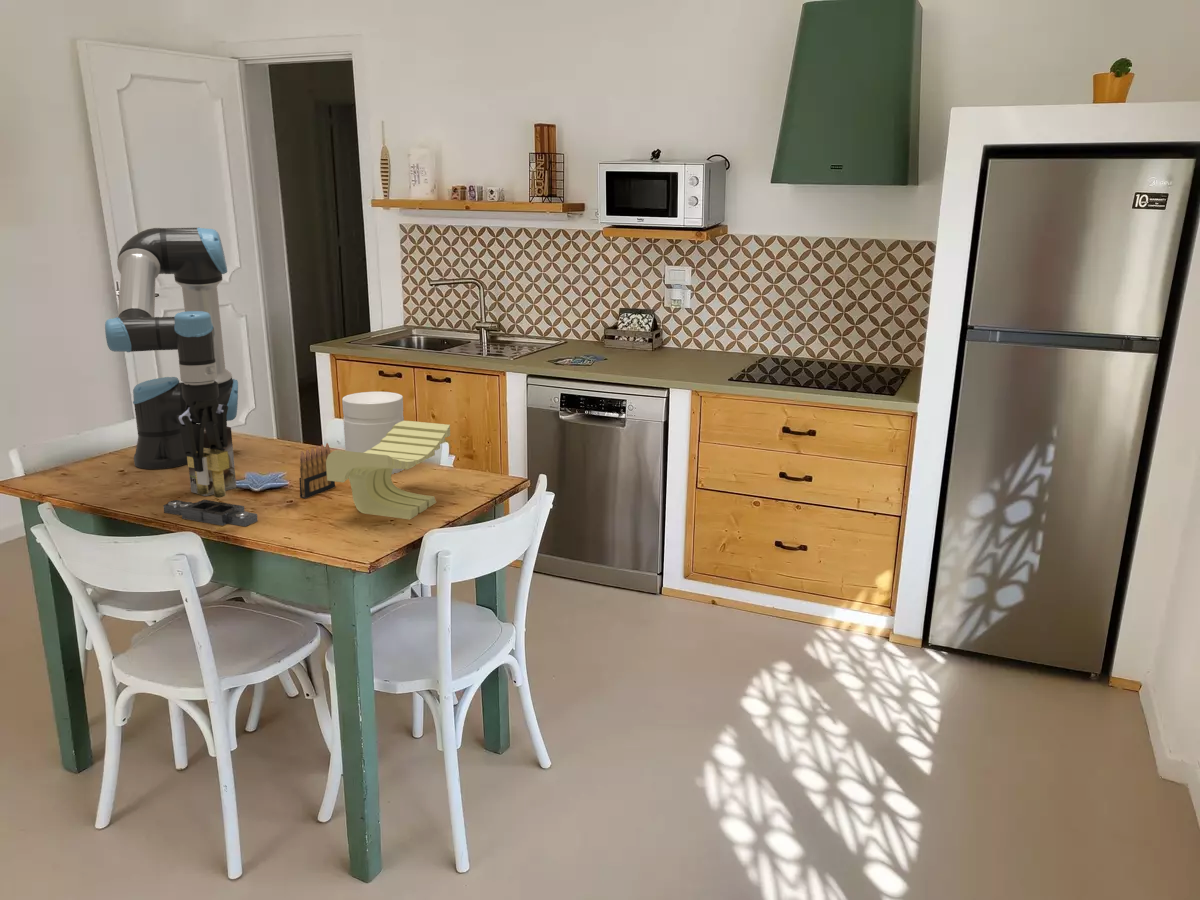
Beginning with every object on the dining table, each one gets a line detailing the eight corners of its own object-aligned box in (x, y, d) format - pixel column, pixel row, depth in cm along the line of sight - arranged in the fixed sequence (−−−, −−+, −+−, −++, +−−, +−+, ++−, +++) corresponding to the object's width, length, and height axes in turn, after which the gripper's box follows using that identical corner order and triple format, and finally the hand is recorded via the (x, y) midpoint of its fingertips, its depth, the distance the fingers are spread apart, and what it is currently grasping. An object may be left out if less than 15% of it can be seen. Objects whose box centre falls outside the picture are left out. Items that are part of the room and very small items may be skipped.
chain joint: (159, 514, 212) (157, 504, 211) (182, 505, 218) (181, 495, 217) (240, 528, 203) (239, 518, 203) (262, 519, 210) (261, 508, 209)
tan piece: (191, 493, 209) (186, 450, 206) (201, 490, 212) (196, 446, 209) (221, 498, 206) (217, 454, 203) (231, 494, 209) (227, 451, 206)
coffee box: (206, 496, 224) (199, 434, 220) (190, 492, 228) (183, 430, 223) (237, 487, 232) (232, 426, 228) (222, 483, 235) (215, 423, 231)
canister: (398, 477, 243) (394, 404, 237) (339, 475, 243) (334, 403, 238) (411, 460, 258) (408, 392, 253) (355, 459, 258) (351, 391, 253)
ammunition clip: (329, 486, 234) (326, 441, 231) (335, 487, 234) (332, 442, 230) (300, 497, 225) (296, 451, 222) (305, 498, 224) (302, 452, 221)
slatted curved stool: (396, 485, 235) (393, 419, 231) (452, 492, 231) (449, 424, 226) (330, 523, 208) (324, 448, 203) (391, 531, 203) (387, 455, 198)
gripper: (184, 389, 193) (195, 494, 199) (239, 376, 208) (248, 474, 214) (157, 386, 196) (169, 489, 202) (213, 374, 210) (223, 470, 217)
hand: (210, 481), depth 208 cm, fingers closed on tan piece, 3 cm apart
